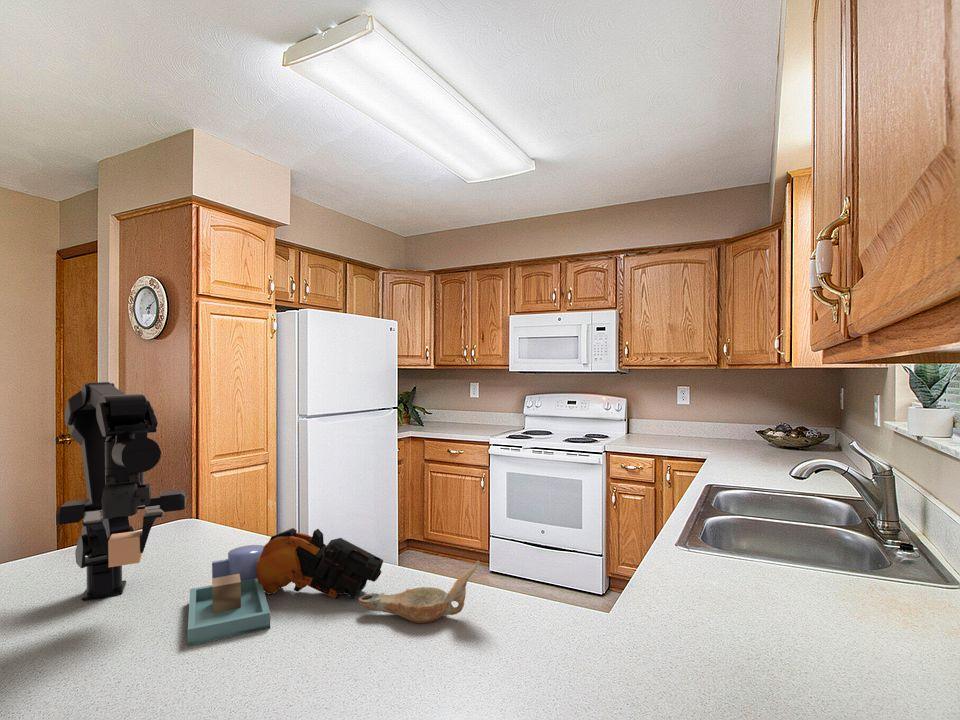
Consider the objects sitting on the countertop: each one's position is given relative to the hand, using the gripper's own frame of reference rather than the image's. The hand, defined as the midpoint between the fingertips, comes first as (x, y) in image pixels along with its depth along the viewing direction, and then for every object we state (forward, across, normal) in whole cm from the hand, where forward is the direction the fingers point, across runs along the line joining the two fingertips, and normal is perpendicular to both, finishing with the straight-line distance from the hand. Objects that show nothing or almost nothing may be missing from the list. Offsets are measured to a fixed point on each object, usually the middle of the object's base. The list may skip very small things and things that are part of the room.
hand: (125, 554), depth 96 cm
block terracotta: (+1, 0, 0) cm, 1 cm away
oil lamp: (+11, +45, -26) cm, 53 cm away
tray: (+10, +16, -9) cm, 21 cm away
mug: (+10, +18, +3) cm, 22 cm away
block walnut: (+10, +16, -6) cm, 20 cm away
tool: (+11, +32, -8) cm, 35 cm away
